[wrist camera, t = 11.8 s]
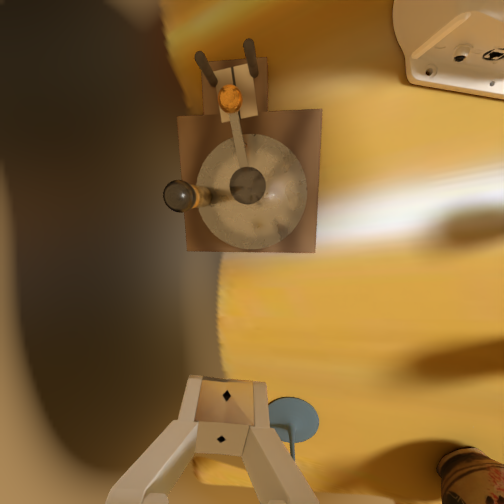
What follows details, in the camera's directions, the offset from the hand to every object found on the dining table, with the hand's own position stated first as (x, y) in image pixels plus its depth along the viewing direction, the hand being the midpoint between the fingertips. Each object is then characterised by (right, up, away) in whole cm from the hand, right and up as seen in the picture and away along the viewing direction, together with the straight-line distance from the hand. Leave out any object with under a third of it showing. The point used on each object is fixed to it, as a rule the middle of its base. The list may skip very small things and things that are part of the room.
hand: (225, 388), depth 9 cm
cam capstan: (0, +17, +25) cm, 30 cm away
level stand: (+1, +19, +27) cm, 33 cm away
